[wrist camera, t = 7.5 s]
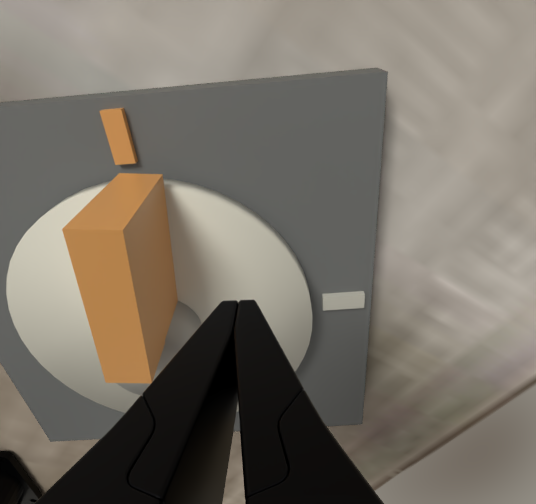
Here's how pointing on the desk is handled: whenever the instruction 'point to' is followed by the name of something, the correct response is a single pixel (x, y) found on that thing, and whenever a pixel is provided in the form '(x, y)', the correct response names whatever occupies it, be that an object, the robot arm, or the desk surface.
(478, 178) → the desk surface
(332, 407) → the dial board
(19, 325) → the dial
